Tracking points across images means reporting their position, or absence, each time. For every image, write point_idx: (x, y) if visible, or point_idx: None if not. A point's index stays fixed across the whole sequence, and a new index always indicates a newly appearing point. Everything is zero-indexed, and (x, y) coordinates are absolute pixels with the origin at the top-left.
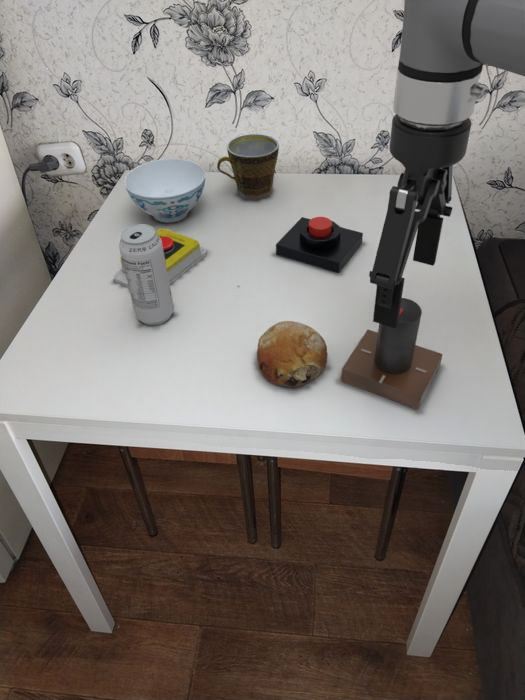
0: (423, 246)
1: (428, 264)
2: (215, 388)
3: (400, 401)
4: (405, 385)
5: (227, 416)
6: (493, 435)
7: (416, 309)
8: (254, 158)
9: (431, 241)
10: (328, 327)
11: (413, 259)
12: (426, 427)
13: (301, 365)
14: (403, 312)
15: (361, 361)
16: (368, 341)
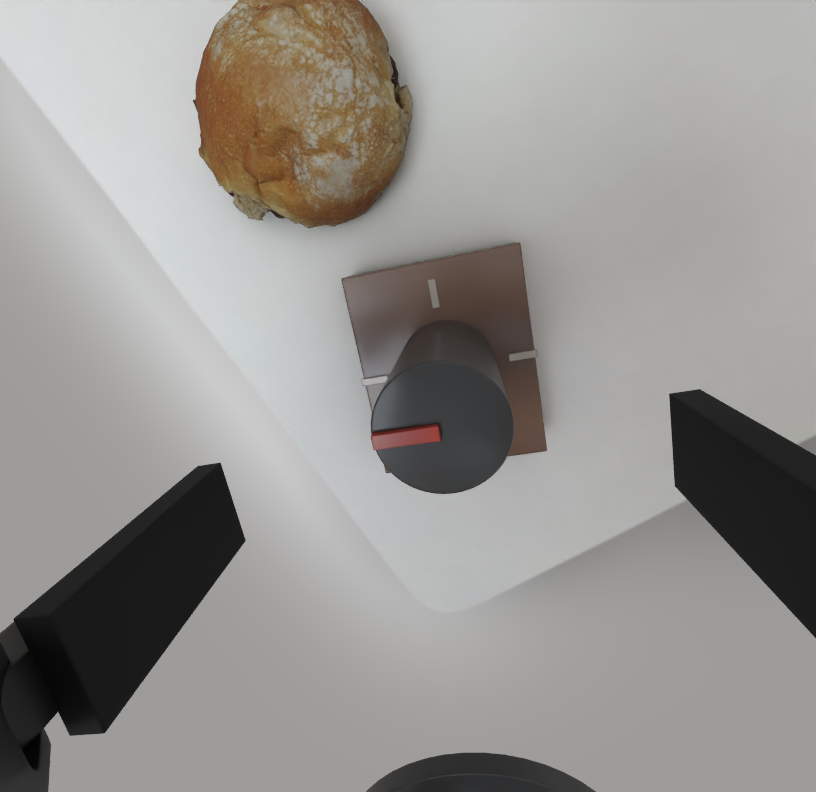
0: (717, 469)
1: (674, 464)
2: (111, 17)
3: None
4: None
5: (82, 123)
6: (427, 584)
7: (475, 469)
8: None
9: (742, 527)
10: (505, 110)
11: (671, 398)
12: (363, 486)
13: (249, 195)
14: (433, 442)
15: (395, 304)
16: (474, 274)
